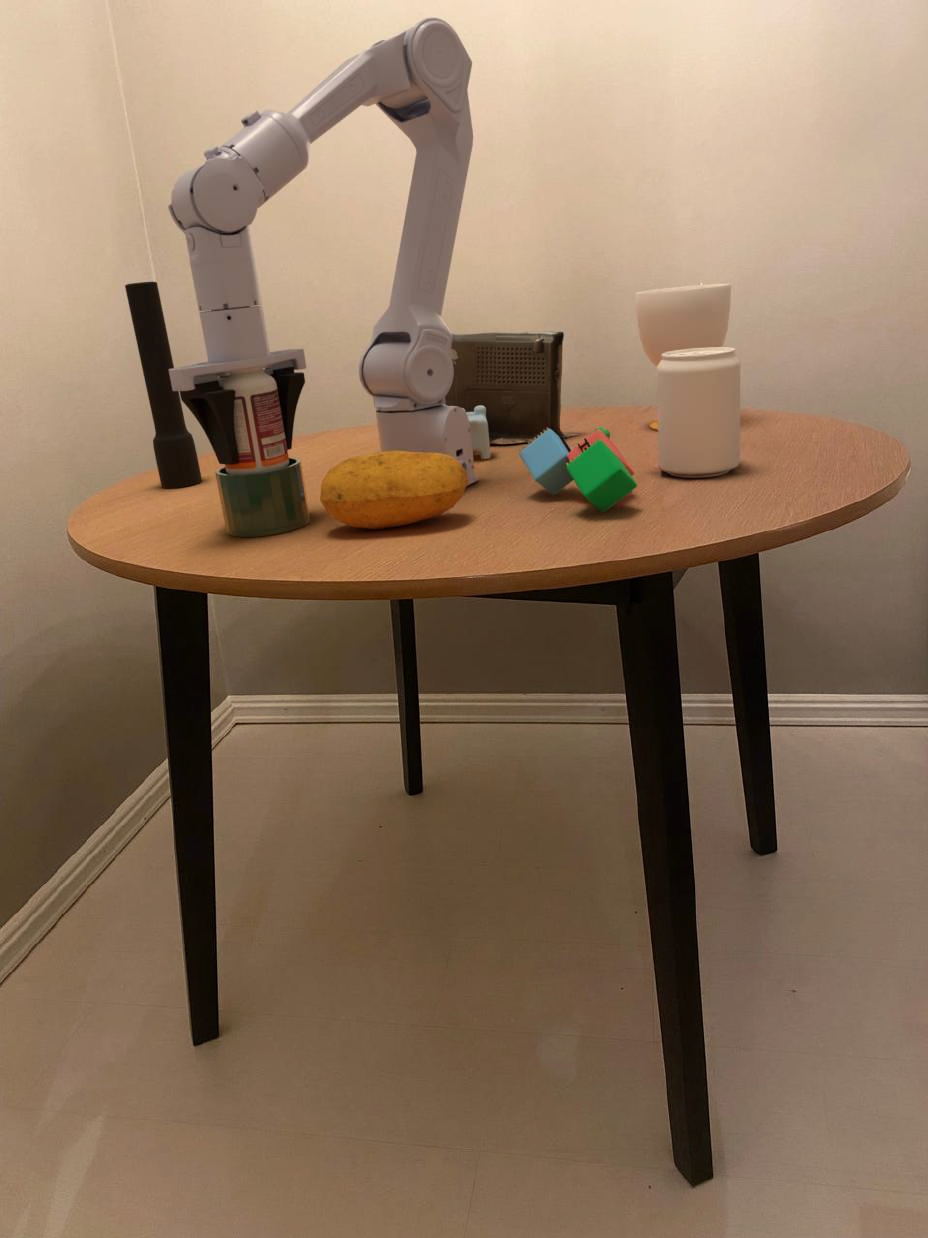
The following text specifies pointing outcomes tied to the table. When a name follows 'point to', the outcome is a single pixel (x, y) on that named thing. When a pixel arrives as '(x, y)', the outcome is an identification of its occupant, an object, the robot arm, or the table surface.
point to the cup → (682, 319)
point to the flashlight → (162, 389)
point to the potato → (392, 488)
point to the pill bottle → (256, 422)
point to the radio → (509, 382)
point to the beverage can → (699, 411)
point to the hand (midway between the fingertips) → (256, 456)
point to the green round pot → (263, 501)
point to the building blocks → (580, 466)
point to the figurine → (479, 431)
